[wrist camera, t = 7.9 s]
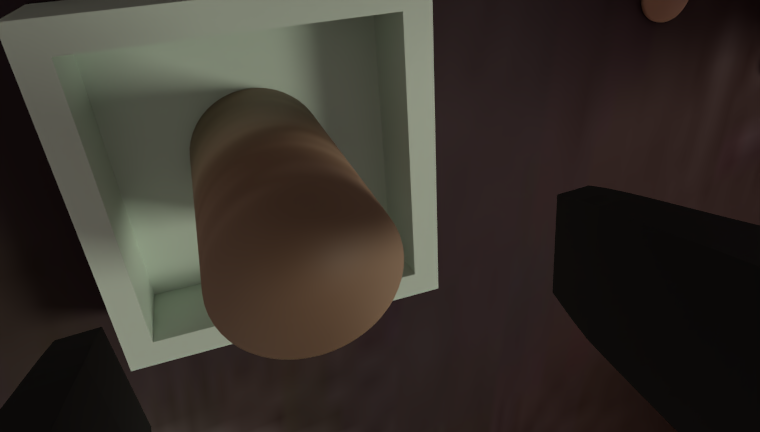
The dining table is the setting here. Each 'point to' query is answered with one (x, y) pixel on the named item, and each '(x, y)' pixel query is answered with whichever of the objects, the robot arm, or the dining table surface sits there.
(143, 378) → the dining table surface
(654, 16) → the crank mount
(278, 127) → the plug
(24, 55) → the tray
